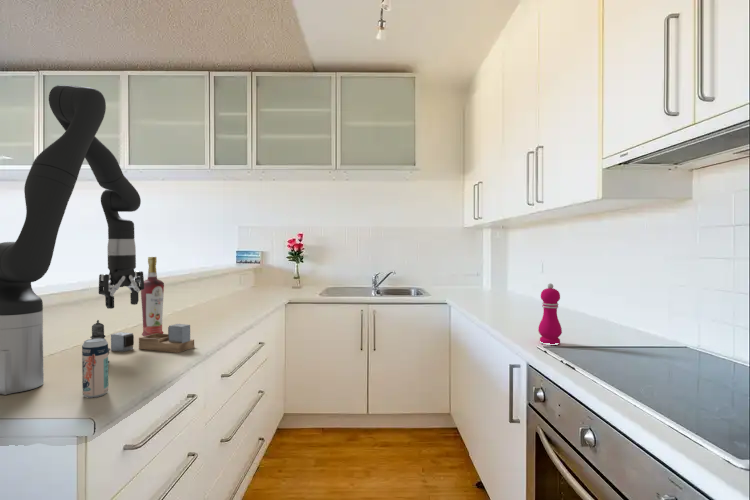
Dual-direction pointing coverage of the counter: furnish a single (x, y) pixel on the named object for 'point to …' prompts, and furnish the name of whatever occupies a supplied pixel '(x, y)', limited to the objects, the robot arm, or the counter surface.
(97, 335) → the dark metal lantern
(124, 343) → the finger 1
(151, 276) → the liquor
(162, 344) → the wooden tray
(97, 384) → the beer can
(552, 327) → the pepper mill
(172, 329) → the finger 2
